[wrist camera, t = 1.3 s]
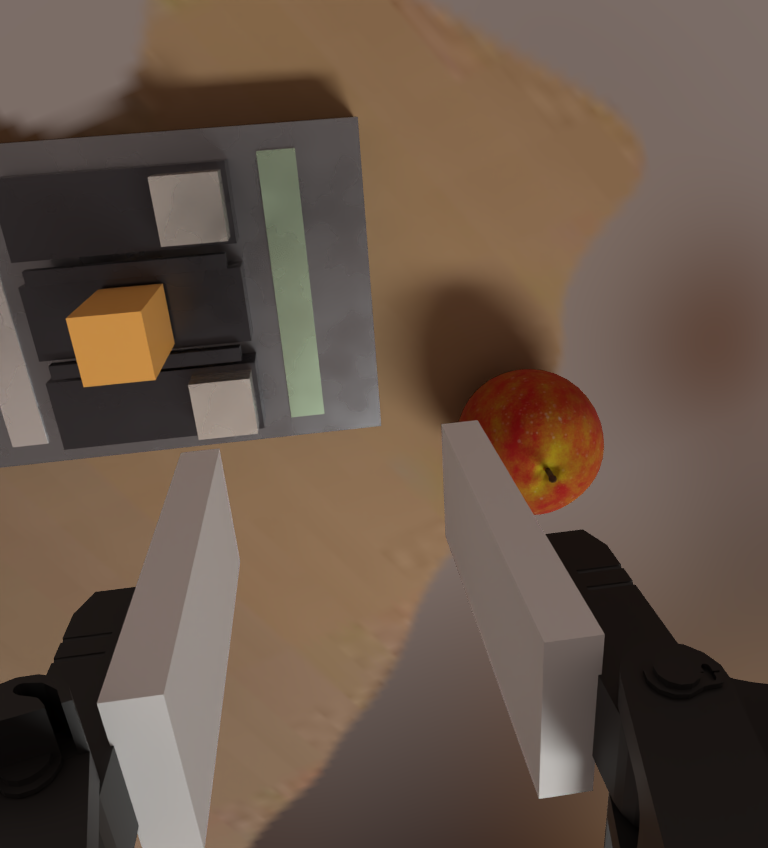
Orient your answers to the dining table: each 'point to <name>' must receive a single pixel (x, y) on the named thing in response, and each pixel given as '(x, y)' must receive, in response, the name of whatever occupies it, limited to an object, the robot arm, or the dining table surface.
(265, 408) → the panel
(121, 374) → the block
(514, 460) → the fruit
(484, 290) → the dining table surface
